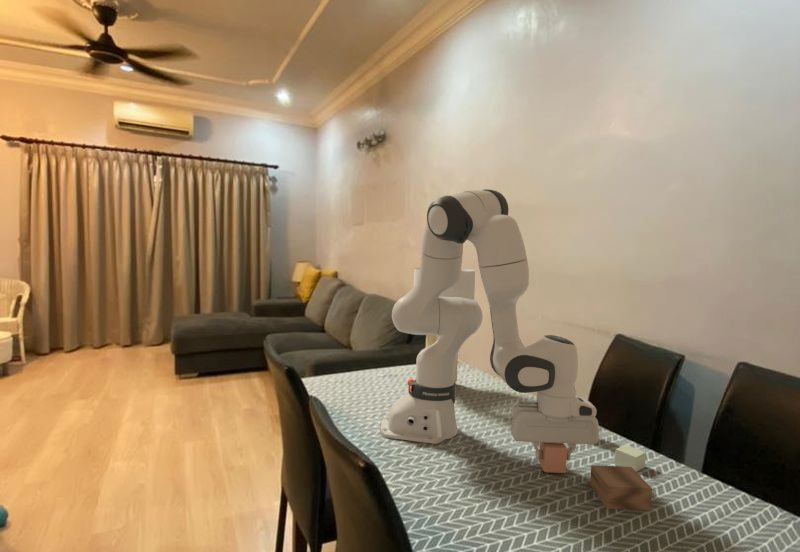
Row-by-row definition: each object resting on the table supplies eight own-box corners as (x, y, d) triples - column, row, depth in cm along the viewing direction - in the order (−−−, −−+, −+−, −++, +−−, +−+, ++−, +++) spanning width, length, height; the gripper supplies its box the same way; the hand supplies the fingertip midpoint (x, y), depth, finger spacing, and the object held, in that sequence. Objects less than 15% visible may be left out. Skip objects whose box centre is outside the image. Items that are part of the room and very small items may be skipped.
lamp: (407, 376, 181) (410, 267, 177) (462, 376, 183) (466, 268, 180) (415, 396, 158) (419, 270, 155) (478, 395, 160) (482, 272, 157)
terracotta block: (544, 472, 106) (545, 447, 105) (538, 461, 111) (539, 438, 110) (565, 472, 106) (567, 448, 105) (558, 462, 111) (560, 439, 110)
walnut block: (606, 509, 93) (608, 486, 93) (589, 486, 102) (591, 465, 102) (650, 511, 93) (652, 488, 92) (629, 488, 102) (631, 466, 101)
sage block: (614, 464, 112) (615, 449, 112) (624, 459, 115) (626, 444, 115) (634, 473, 108) (635, 457, 108) (644, 467, 111) (646, 452, 111)
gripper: (515, 406, 104) (512, 463, 105) (603, 409, 103) (599, 467, 105) (509, 397, 110) (506, 450, 111) (592, 400, 110) (589, 454, 111)
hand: (552, 458), depth 108 cm, fingers closed on terracotta block, 5 cm apart
